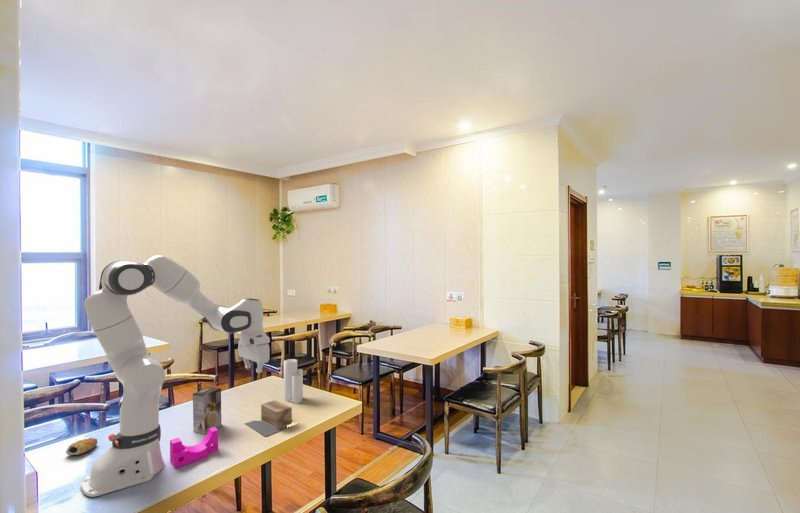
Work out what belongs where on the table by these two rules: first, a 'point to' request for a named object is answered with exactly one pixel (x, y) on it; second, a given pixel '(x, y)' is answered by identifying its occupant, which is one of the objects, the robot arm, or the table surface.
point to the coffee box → (206, 409)
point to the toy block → (193, 449)
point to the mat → (264, 428)
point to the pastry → (81, 446)
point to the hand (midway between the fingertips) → (253, 370)
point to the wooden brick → (276, 414)
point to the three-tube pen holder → (293, 381)
